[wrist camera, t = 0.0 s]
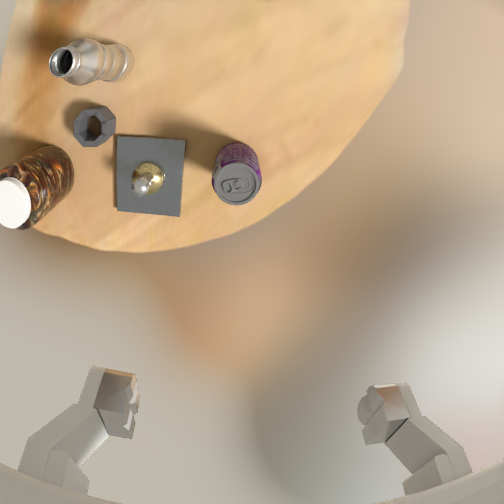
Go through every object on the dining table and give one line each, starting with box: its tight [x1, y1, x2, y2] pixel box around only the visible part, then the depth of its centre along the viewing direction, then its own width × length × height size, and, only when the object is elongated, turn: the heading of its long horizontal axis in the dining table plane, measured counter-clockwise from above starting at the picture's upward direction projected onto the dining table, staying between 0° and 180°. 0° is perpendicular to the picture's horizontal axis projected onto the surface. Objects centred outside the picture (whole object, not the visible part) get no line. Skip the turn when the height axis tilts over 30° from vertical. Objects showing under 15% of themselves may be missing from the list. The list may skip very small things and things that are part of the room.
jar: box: [0, 145, 74, 230], centre depth 46 cm, size 12×12×15 cm
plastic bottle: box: [49, 38, 134, 86], centre depth 35 cm, size 6×7×20 cm
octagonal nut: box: [74, 107, 116, 147], centre depth 47 cm, size 6×6×4 cm
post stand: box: [117, 136, 186, 217], centre depth 51 cm, size 14×12×7 cm
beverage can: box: [212, 143, 262, 205], centre depth 49 cm, size 7×7×12 cm
